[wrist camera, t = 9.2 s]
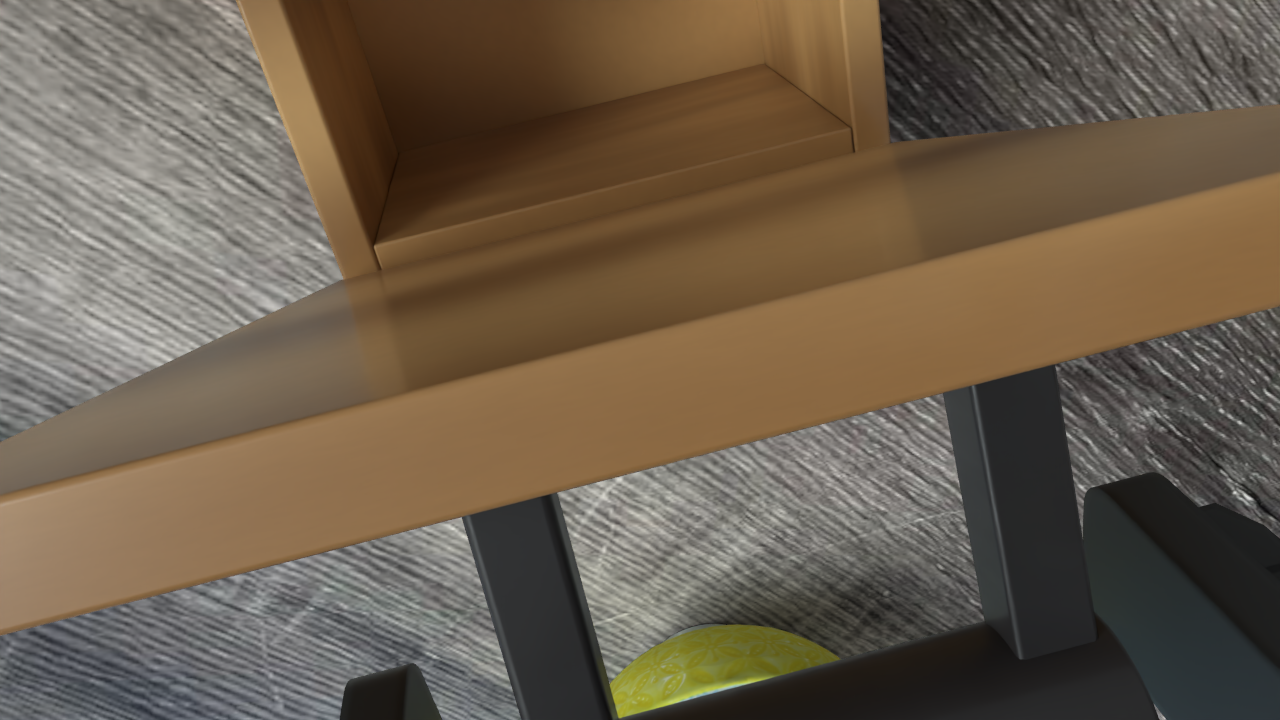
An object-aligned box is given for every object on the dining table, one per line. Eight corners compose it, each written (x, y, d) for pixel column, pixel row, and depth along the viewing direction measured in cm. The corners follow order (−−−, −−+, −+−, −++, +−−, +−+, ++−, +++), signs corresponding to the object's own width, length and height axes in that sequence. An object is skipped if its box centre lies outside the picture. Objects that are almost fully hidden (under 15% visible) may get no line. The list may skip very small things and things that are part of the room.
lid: (-253, 559, 5) (90, 1307, 6) (1729, 58, 6) (1738, 845, 7) (338, 280, 19) (414, 529, 21) (897, 141, 20) (943, 393, 21)
